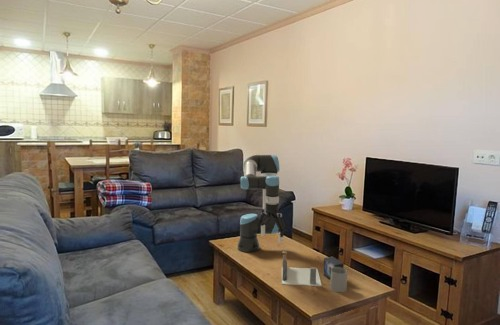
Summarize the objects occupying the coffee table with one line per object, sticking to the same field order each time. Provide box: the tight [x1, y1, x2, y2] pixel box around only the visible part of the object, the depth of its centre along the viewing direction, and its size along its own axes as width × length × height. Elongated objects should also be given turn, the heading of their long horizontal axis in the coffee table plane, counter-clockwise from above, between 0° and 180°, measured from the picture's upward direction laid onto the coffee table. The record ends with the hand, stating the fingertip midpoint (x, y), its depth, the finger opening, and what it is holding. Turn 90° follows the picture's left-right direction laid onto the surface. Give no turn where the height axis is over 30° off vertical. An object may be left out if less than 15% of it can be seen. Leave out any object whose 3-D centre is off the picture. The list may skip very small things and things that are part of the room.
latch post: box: [309, 266, 317, 284], centre depth 189 cm, size 2×3×9 cm
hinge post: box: [281, 260, 288, 281], centre depth 193 cm, size 2×2×11 cm
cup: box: [329, 267, 348, 293], centre depth 185 cm, size 8×8×10 cm
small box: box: [323, 256, 345, 281], centre depth 196 cm, size 11×6×10 cm, turn 23°
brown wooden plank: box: [281, 251, 288, 262], centre depth 203 cm, size 2×16×9 cm, turn 175°
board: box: [281, 266, 322, 287], centre depth 199 cm, size 21×21×1 cm
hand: (271, 239), depth 203 cm, fingers open, 13 cm apart
